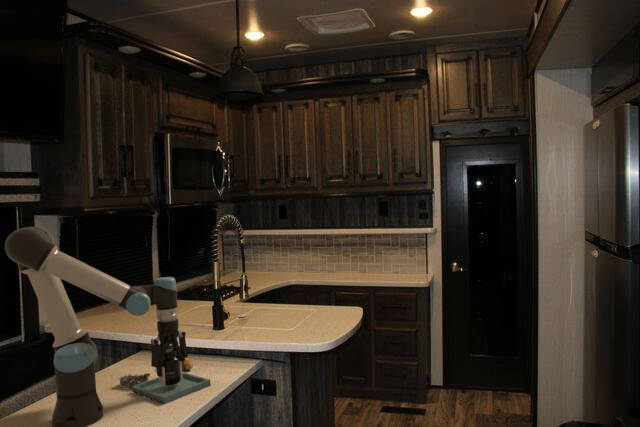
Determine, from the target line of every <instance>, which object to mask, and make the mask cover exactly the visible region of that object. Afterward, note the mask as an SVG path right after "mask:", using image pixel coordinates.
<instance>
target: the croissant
mask: <svg viewBox="0 0 640 427" xmlns="http://www.w3.org/2000/svg"><path fill="white" fill-rule="evenodd" d="M193 365H194V364H193V361H192V359H191V358H190V356H188V357H187V358H185V361H183V366H184V367H183V369H182V371H183V370H184V371H189V370H191V369H193V367H194V366H193Z"/></svg>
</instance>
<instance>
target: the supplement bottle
mask: <svg viewBox="0 0 640 427" xmlns="http://www.w3.org/2000/svg"><path fill="white" fill-rule="evenodd" d="M176 355H177V350H176V349H173V348H167V349H166V353H165V357H164V362H163V366H162V367H165V385H175V384H177V383H179V382H180V359H179V357H178V356H176Z"/></svg>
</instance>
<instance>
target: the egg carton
mask: <svg viewBox="0 0 640 427" xmlns="http://www.w3.org/2000/svg"><path fill="white" fill-rule="evenodd" d="M150 376H151V373H148V372H147V373H144V374H140V375H139V374H135V375H132V374H128V375H127V374H126V375H124V376H121V377H117V379H118V380H119V386H122V387H121V388H124V387H123V386H127V387H132V386H135V385H138V384H141V383H144V382H147V381H149V380H150V379H149V377H150Z"/></svg>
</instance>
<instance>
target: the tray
mask: <svg viewBox="0 0 640 427" xmlns="http://www.w3.org/2000/svg"><path fill="white" fill-rule="evenodd" d="M182 374H183V379H180V382H179V383H177V384H175V385H161V384H159V376H157V377H155V378H152V379H149V381H147V382H144V383H141V384H138V385H135V386H132V388H131V391H132V392H134V393H133V394H135V393H136V394H135V395H138V394H139V395H138V396H141V395H142V396H141V397H143V396H145V397H144V398H146V397H147V399H149V398H150V400H152V399H153V400H152V401H155V400H156V401H155V402H158V403H160V402H161V404H163V405H166V404H168V403H171V402H174V401H175V400H178V398H179V399H181V398H183V396H184V397H185V396H188V394H189V395H190V393H191V394H193V393H196V392H199V391H201V390H204V389H206V388H208V387H211V386H212V384H211V379H210V378H205V377H202V376H199V375H195V374H191V373H187V372H184V371H182Z"/></svg>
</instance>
